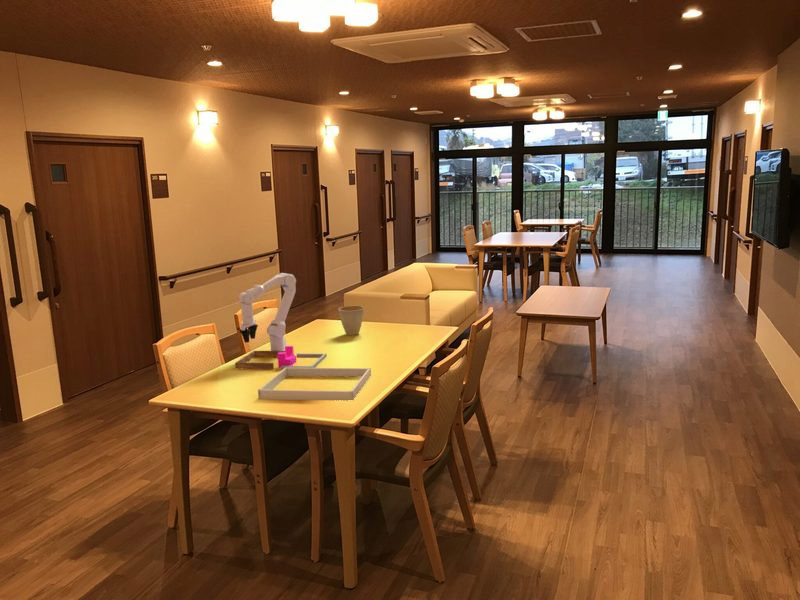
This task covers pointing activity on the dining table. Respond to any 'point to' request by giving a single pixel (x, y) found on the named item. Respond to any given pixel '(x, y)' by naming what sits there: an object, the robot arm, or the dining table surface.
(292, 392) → the frame
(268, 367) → the walnut stall
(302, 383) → the dining table surface
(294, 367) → the frame
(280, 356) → the toy block
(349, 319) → the plant pot
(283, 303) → the robot arm
